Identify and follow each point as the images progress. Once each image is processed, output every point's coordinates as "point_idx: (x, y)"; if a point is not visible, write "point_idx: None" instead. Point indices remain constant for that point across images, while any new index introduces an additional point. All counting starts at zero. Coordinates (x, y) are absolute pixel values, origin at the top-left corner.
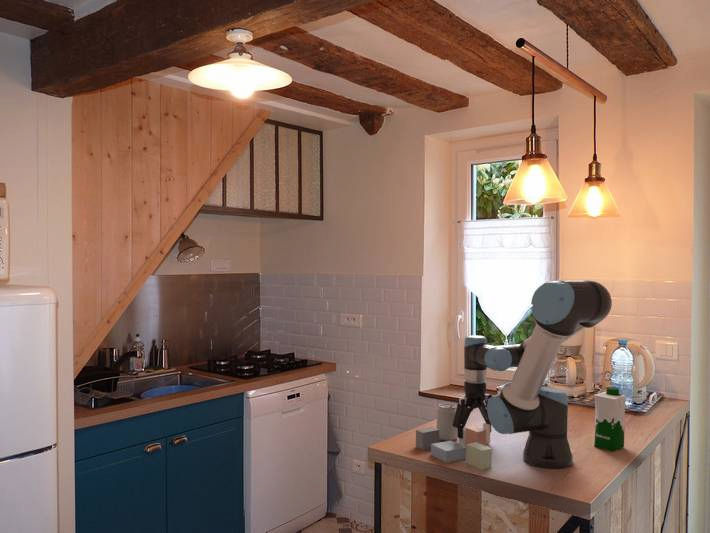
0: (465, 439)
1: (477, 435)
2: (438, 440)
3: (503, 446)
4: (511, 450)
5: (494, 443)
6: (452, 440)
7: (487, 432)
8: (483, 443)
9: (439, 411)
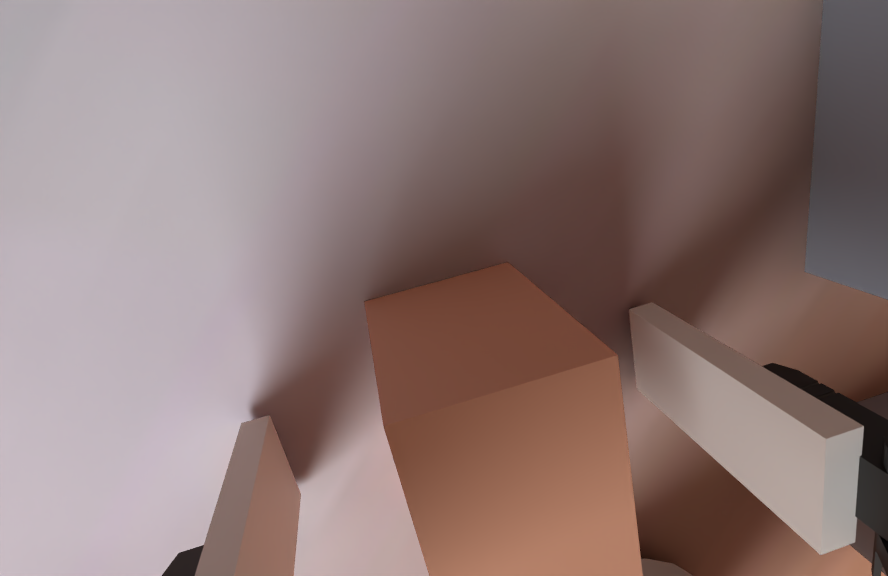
0: (703, 350)
1: (586, 329)
2: None
3: (92, 289)
4: (34, 86)
5: (172, 423)
6: None
7: (257, 532)
8: (418, 310)
9: None
